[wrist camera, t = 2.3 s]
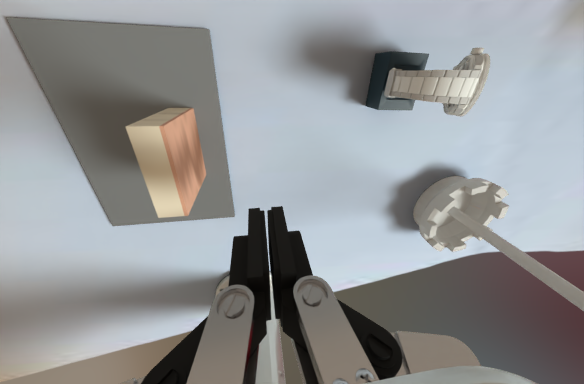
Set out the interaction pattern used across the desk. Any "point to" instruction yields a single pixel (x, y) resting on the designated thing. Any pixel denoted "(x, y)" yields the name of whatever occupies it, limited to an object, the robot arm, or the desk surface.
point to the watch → (426, 82)
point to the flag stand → (477, 225)
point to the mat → (129, 104)
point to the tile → (169, 159)
